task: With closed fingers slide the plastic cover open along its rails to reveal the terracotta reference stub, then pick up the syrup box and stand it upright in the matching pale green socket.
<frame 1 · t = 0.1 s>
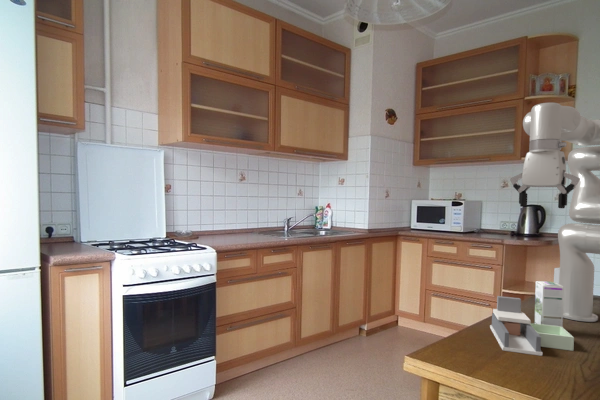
hand: (541, 207, 109), 37 cm above the table, tool pointing down, fingers open, 9 cm apart
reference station: (510, 335, 110), on the table
muffin: (559, 303, 147), on the table
skincare box: (562, 298, 154), on the table
cover: (511, 309, 110), point 7 cm above the table, slide at 0.0 cm
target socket: (548, 342, 105), on the table
syrup box: (547, 332, 114), on the table
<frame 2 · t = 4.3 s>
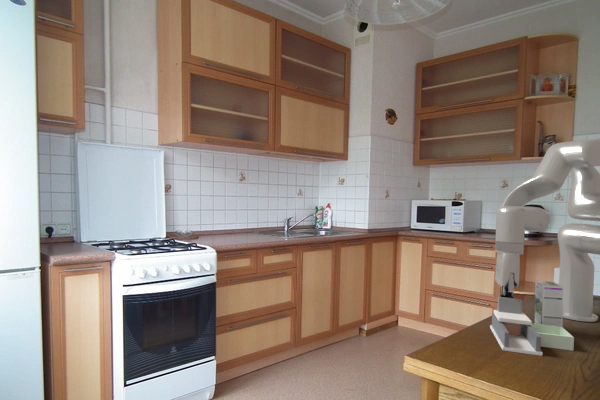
hand: (506, 308, 115), 6 cm above the table, tool pointing down, fingers closed
cover: (512, 310, 109), point 8 cm above the table, slide at 1.0 cm, touching gripper
everything else where it was.
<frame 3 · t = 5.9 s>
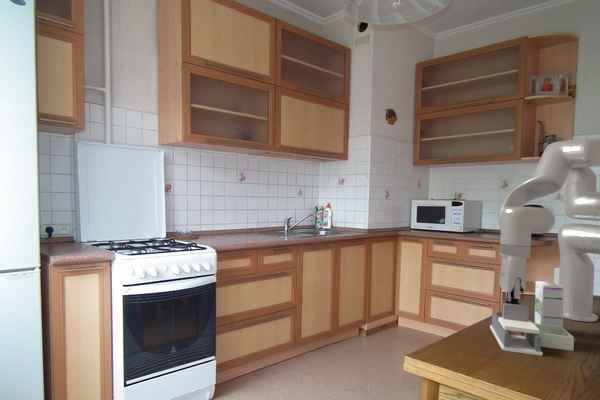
hand: (511, 315, 108), 6 cm above the table, tool pointing down, fingers closed
cover: (518, 317, 102), point 8 cm above the table, slide at 8.0 cm, touching gripper
everything else where it was.
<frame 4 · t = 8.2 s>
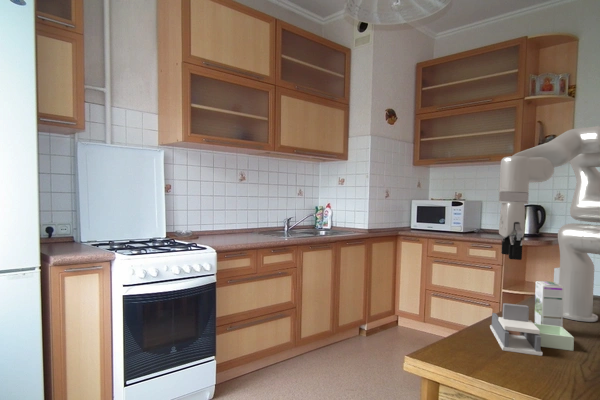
hand: (511, 256, 112), 22 cm above the table, tool pointing down, fingers open, 9 cm apart
cover: (518, 317, 102), point 8 cm above the table, slide at 8.1 cm
everything else where it was.
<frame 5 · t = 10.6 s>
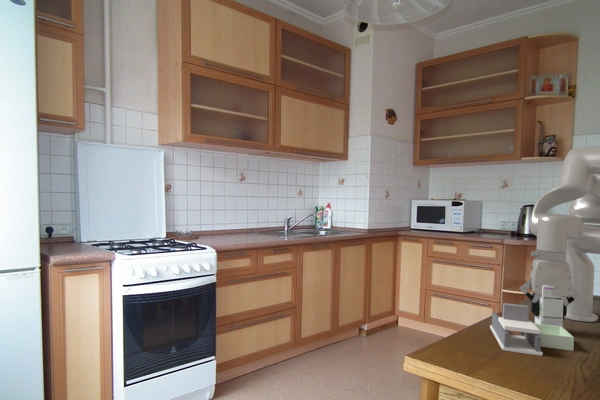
hand: (548, 315, 114), 5 cm above the table, tool pointing down, fingers closed on syrup box, 6 cm apart
syrup box: (547, 332, 114), on the table, touching gripper
everything else where it was.
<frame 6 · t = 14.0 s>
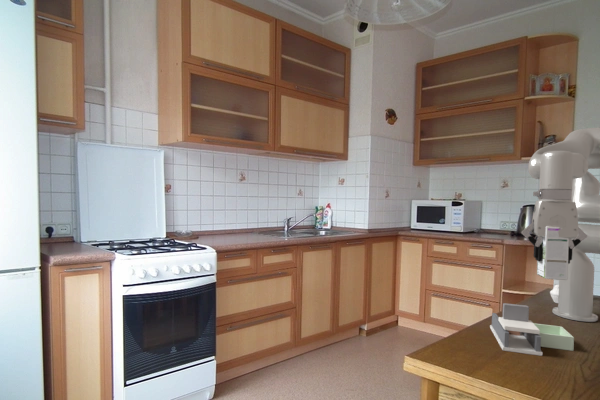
hand: (552, 261, 105), 23 cm above the table, tool pointing down, fingers closed on syrup box, 6 cm apart
syrup box: (551, 278, 105), point 18 cm above the table, touching gripper
everything else where it was.
when the fingers open (7 cm above the table, at t = 17.0 s): syrup box drops 2 cm, resting on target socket.
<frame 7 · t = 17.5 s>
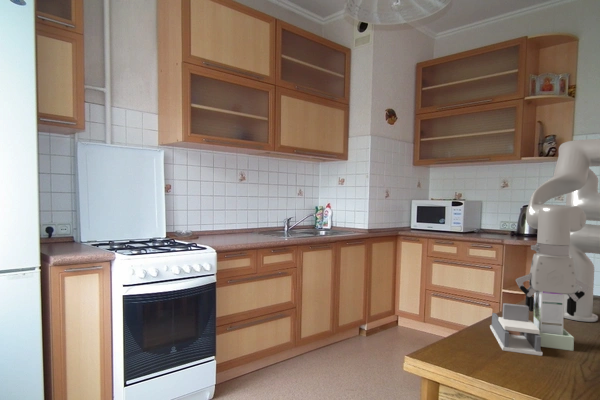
hand: (549, 312, 105), 8 cm above the table, tool pointing down, fingers open, 9 cm apart
syrup box: (547, 339, 105), point 1 cm above the table, touching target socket
everything else where it was.
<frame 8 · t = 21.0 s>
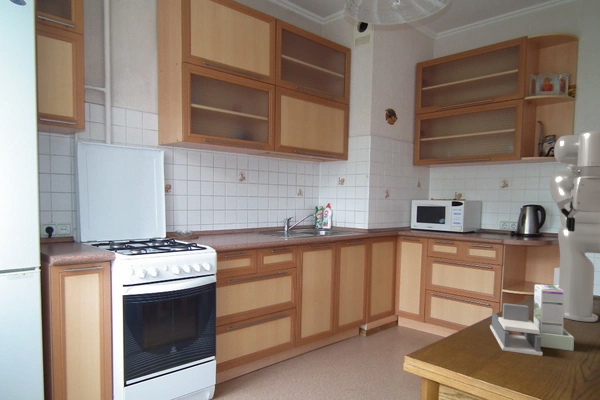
hand: (590, 232, 111), 30 cm above the table, tool pointing down, fingers open, 9 cm apart
nothing on the table moved.
at the end: cover slide at 8.1 cm; syrup box 0.4 cm off-centre on the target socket, point 0.6 cm above the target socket's base; syrup box tilted 0° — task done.
